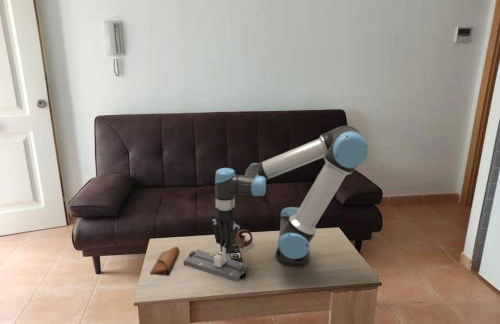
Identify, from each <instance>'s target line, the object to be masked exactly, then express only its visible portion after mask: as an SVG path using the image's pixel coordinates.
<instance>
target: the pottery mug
mask: <svg viewBox="0 0 500 324" xmlns="http://www.w3.org/2000/svg"><path fill="white" fill-rule="evenodd" d="M232 232H233V231H231V236H232ZM243 233H247V234H249V237H250V238H249V240H245V238H246V235H243ZM243 240H244V241H243ZM253 240H254V239H253V234H252V232H251V231H250V230H248V229H239V230H238V233H237V237H236V241H237V242H238V243H239V245H240V246H238V247H239V248H238V249H241V250H243V249H244V248H247V247H249V246H250V245H251V244H252V242H253Z"/></svg>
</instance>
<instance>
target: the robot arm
mask: <svg viewBox="0 0 500 324" xmlns="http://www.w3.org/2000/svg"><path fill="white" fill-rule="evenodd" d="M368 153H369V147H368V143H367V141H366V138H365V137H364V136H363V135H362V133H361V132H360V131H359V130H358V129H357V128H355V127H353V126H350V125H342V126H338V127H336V128H334V129H332V130H329V131H327V132H325V133H323V134H322V133H321V135H320V136H319V138H318V139H314V140H312V141H310V142H307V143H305V144H302V145H300V146H298V147H295V148H293V149H291V150H288V151H285V152H284V153H281V154H278V155H276V156H274V157H271V158H269V159H266V160H263V161H261V162H258V163H257V162H254V163H251V164H250V165H249V166H248V167H247V168H246V169H245V173H244V175H243V174H241V175H239V174H236V172H235V170H234V169H233V168H229V167H222V168H219V169H217V170H216V171H215V178H214V179H215V181H214V184H215V185H214V186H215V189H214V190H215V218H214V219H212V220H211V221H210V222H209V223H210V225H211V226H212V230H213V234H214V239H215V243H216V244H217V245H218V244H219V245H220V251H221V252H222V261H224V262H226V261H227V260H228V259H230V255H229V254H230V253H231V248H232V247H233V246H234V245H235V244H236V241H237V240H236V237H237V233H238V231H240V230H241V225H240V224H237V223H236V220H235V211H236V210H235V209H236V208H235V205H236V203H235V198H236V197H235V196H236V195H237V196H238V195H240V196H241V195H242V196H251V197H252V196H253V197H262V196H265V194H266V186H267V180H270V179H271V178H275V177H277V176H280V175H282V174H285V173H287V172H290V171H293V170H295V169H297V168H300V167H301V166H305V165H308V164H310V163H312V162H314V161H317V160H319V159H324V163H325V164H324V165H323V166H322V169H321V170H320V172H319V174H318V175H317V177H316V179H315V181H314V183H313V184H312V185H311V187H310V189H309V191H308V192H307V194H306V196H305V198H303V202H301V205H300V206H299V207H295V206H293V207H292V206H289V207H284V208H283V209H281V212H280V227H279V235H278V241H277V247H276V250H275V255H274V256H275V260H276V261H277V263H280V264H281V265H283V266H287V267H292V268H294V267H295V268H297V267H298V268H299V267H303V266H305V265H308V263H309V262H310V260H311V252H310V248H311V247H310V243H311V242H312V240H313V238H314V237H315V235H316V233H317V229H316V225H317V224H318V222H319V220H320V219H321V218H322V215H323V214H324V212H325V211H326V210H327V207H328V206H329V205H330V202H331V201H332V199H333V197H334V196H335V194H336V192H337V191H338V190H339V188H340V186H341V185H342V183H343V181H344V179H345V178H346V176H348V175H351V174H353V173H354V172H355V170H356V168H357V167H359V166H361V165H362V164H363V163H364V162H365V161H366V160H367V157H368ZM231 232H232V236H231Z"/></svg>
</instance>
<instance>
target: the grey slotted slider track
mask: <svg viewBox="0 0 500 324" xmlns="http://www.w3.org/2000/svg"><path fill="white" fill-rule="evenodd" d="M216 255H217V254H214V253H210V252H207V251H203V250H200V249H196V250H192V251H190V253H188V256H187V257H186V258H185V259H183V265H185V266H188V267H190V268H193V269H198V270H199V271H203V272H206V273H209V274H212V275H215V276H218V277H221V278H224V279H227V280H230V281H233V282H236V283H237V282H238V281H239V280H240V279H241V278H240V276H241V274H242V273H243V272H244V271H245V273H247V272H248V270H249V269H250V268H249V267H250V266H249V264H246V263H244V262H241V261H237V260H234V259H231V258H229V259H228V261H227V262H226V263H225V264H224V265H223V266H222V267H217V266H214V257H215V256H216Z"/></svg>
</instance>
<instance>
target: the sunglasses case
mask: <svg viewBox="0 0 500 324" xmlns="http://www.w3.org/2000/svg"><path fill="white" fill-rule="evenodd" d="M179 253H180V248H179V247H178V246H174V247H172V248H171V249H167V250H165V251H163V252H161V253H160V255H159V256H158V258H157V260H156V262H155V264H154V265H153V267H152V268H151V269H150V270H151V271H150V272H149V275H151V276H152V275H153V276H155V275H156V276H170V274H171V272H172V269H173V267H174V265H175V262H176V260H177V258H178V256H179Z"/></svg>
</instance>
